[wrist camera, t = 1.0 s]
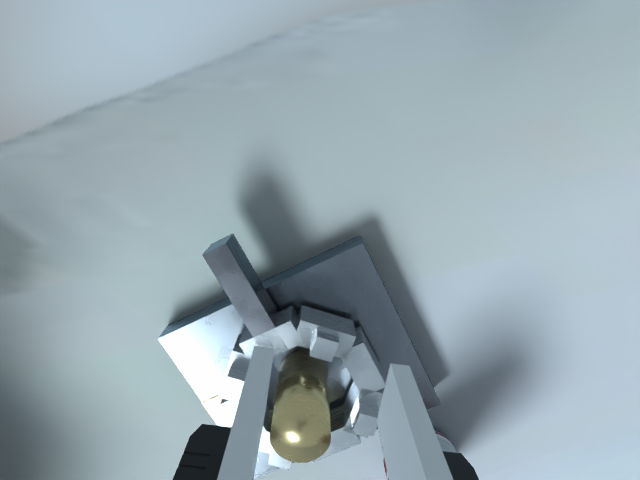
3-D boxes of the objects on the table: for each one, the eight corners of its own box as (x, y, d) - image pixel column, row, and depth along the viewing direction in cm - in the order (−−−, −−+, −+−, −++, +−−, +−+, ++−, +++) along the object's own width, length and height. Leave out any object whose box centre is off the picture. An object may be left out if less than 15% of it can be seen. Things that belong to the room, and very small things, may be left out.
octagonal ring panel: (400, 403, 32) (410, 436, 29) (273, 455, 34) (268, 492, 30) (295, 202, 27) (292, 213, 24) (152, 273, 29) (130, 293, 25)
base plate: (258, 459, 37) (240, 561, 28) (167, 326, 33) (114, 398, 24) (433, 388, 35) (472, 475, 26) (360, 235, 31) (376, 279, 22)
